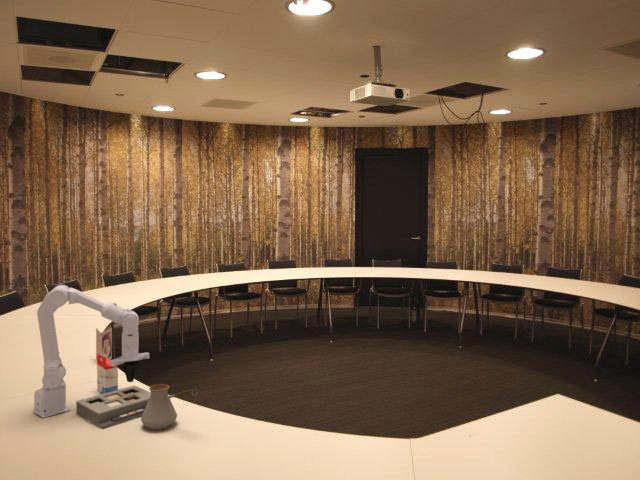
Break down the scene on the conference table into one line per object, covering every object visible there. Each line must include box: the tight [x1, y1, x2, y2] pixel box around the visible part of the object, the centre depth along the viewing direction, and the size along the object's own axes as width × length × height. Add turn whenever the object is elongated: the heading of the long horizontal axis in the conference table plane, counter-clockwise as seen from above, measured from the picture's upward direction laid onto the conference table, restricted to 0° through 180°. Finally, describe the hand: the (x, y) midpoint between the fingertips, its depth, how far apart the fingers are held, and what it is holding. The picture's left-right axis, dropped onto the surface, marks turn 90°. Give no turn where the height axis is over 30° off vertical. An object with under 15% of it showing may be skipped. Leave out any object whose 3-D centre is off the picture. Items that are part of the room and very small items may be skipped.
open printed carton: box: [95, 327, 113, 361], centre depth 238 cm, size 11×7×15 cm, turn 179°
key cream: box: [106, 401, 121, 407], centre depth 176 cm, size 4×4×2 cm
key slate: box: [121, 392, 139, 401], centre depth 188 cm, size 4×4×2 cm
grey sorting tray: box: [75, 384, 151, 430], centre depth 180 cm, size 22×18×4 cm
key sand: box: [106, 395, 121, 404], centre depth 182 cm, size 4×4×2 cm
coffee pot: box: [140, 383, 198, 431], centre depth 167 cm, size 21×12×15 cm, turn 62°
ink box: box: [96, 354, 119, 394], centre depth 199 cm, size 8×5×15 cm, turn 47°
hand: (130, 381), depth 187 cm, fingers closed
